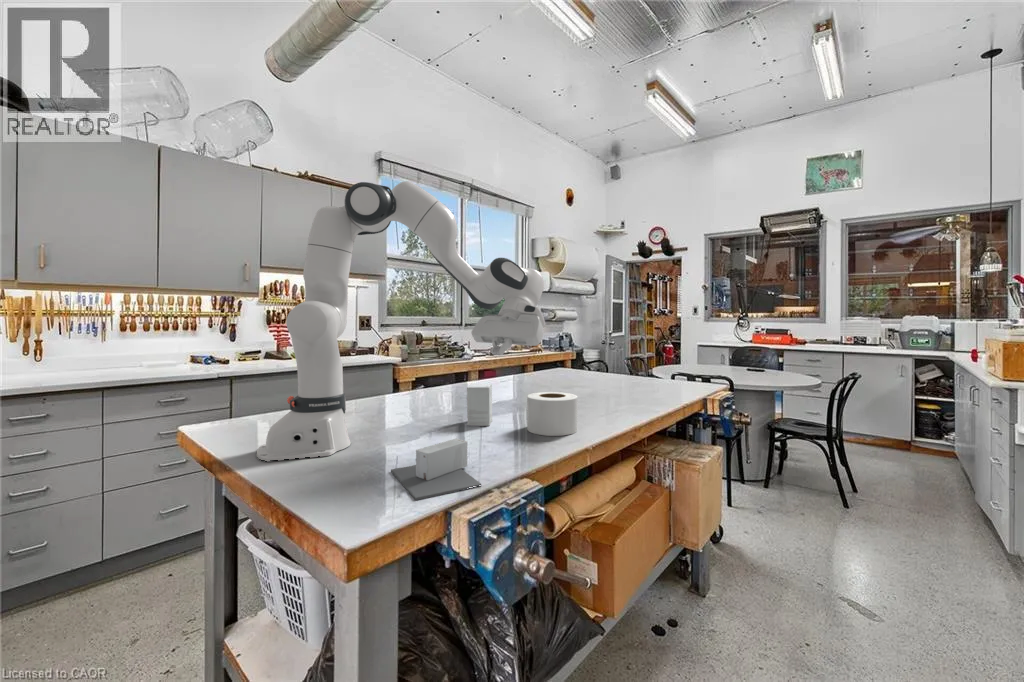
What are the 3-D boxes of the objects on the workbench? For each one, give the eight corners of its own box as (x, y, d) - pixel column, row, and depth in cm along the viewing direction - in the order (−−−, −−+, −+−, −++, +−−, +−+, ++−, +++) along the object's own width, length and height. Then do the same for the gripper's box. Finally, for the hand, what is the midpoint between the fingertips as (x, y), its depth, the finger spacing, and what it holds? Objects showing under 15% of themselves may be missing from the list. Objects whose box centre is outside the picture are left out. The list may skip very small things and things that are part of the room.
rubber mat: (415, 500, 85) (415, 497, 85) (390, 471, 101) (390, 469, 101) (481, 486, 92) (481, 483, 92) (448, 461, 108) (448, 459, 108)
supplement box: (492, 421, 149) (492, 383, 148) (489, 426, 141) (489, 387, 140) (471, 420, 149) (470, 383, 149) (466, 426, 142) (466, 386, 141)
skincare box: (456, 437, 105) (414, 448, 96) (469, 441, 102) (427, 452, 93) (455, 463, 106) (414, 476, 96) (469, 467, 103) (427, 481, 94)
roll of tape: (527, 423, 146) (527, 390, 145) (575, 424, 145) (575, 391, 144) (526, 436, 130) (526, 399, 130) (579, 437, 129) (579, 400, 129)
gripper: (479, 307, 127) (459, 343, 119) (544, 308, 117) (527, 348, 109) (487, 322, 131) (468, 358, 123) (551, 324, 121) (534, 364, 113)
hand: (496, 353), depth 116 cm, fingers closed
